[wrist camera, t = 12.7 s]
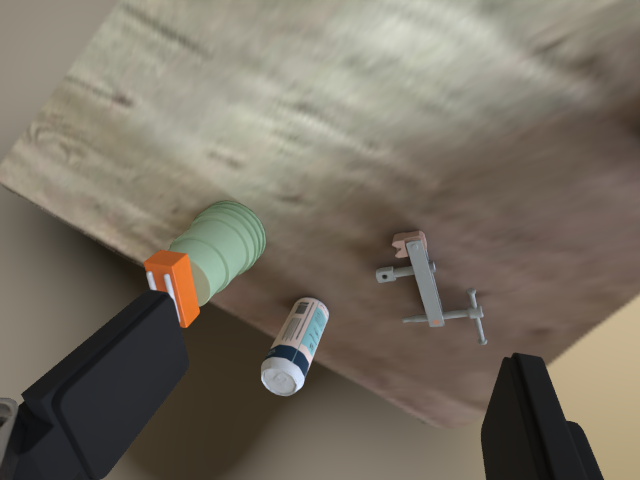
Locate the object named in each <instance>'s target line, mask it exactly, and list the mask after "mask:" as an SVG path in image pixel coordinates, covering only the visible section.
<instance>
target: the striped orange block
mask: <svg viewBox="0 0 640 480" xmlns="http://www.w3.org/2000/svg"><path fill="white" fill-rule="evenodd" d="M144 266H145V269H146V275H147V278H148V282H149V286H150V289H152V290H158V291H164V292H168V293H169V294H170V296H171V298H173V299H174V302H175V306H176V310H177V314H178V318H179V322H180V327H184V328H187V327H188V326H189V325H190V323H191V322H192V321H193V320H194V319H195V318H196V317H197V316H198V314H199V313H200V311H199V306H198V301H197V296H196V291H195V287H194V282H193V277H192V272H191V267H190V262H189V257H188V254H187V253H180V252H172V251H165V250H160V251H158V252H157V253H155V254H154V255H153V256H151V257H150V258H149V259H147V260H146V261H144Z"/></svg>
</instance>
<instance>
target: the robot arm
mask: <svg viewBox="0 0 640 480" xmlns="http://www.w3.org/2000/svg"><path fill="white" fill-rule="evenodd" d="M188 366H189V360H188V355H187V351H186V347H185V343H184V339H183V335H182V331H181V327H180V322H179V318H178V314H177V310H176V306H175V302H174V299H173V298H171V296H170V294H169V293H168V292H164V291H158V290H152V289H150V290H147V291H145V292H144V293H142V294H141V295H140V296H139V297H138V298H136V299H135V300H134V301H133V302H131V303H130V304H129V305H128V306H127V307H125V308H124V309H123V310H122V311H121V312H119V313H118V314H117V315H116V316H115V317H113V318H112V319H111V320H110V321H109V322H108V323H106V324H105V325H104V326H103V327H102V328H100V329H99V330H98V331H97V332H96V333H94V334H93V335H92V336H91V337H89V338H88V339H87V340H86V341H85V342H83V343H82V344H81V345H80V346H78V347H77V348H76V349H75V350H74V351H72V352H71V353H70V354H69V355H68V356H66V357H65V358H64V359H63V360H62V361H60V362H59V363H58V364H57V365H56V366H54V367H53V368H52V369H51V370H50V371H48V372H47V373H46V374H45V375H44V376H42V377H41V378H40V379H39V380H38V381H36V382H35V383H34V384H33V385H31V386H30V387H29V388H28V389H27V390H25V391H24V392H23V393H22V394H21V395H22V397H23V399H24V400H25V401H24V402H23V403H22V404H20V405H19V406H18V404H17V403H16V401H15V400H13V399H10V398H0V480H100V479H103V478H104V477H105V476H107V474H108V473H109V472H110V471H111V469H112V468H113V467H114V466H115V464H116V463H117V462H118V460H119V459H120V458H121V456H122V455H123V454H124V452H125V451H126V450H127V449H128V447H129V446H130V445H131V443H132V442H133V441H134V440H135V438H136V437H137V436H138V434H139V433H140V432H141V430H142V429H143V428H144V426H145V425H146V424H147V423H148V421H149V420H150V419H151V417H152V416H153V415H154V413H155V412H156V411H157V410H158V408H159V407H160V406H161V404H162V403H163V402H164V400H165V399H166V398H167V396H168V395H169V394H170V392H171V391H172V390H173V389H174V387H175V386H176V385H177V383H178V382H179V381H180V379H181V378H182V377H183V376H184V374H185V373H186V371H187V369H188ZM481 444H482V451H483V459H484V467H485V474H486V480H604V479H603V476H602V474H601V471H600V469H599V466H598V464H597V462H596V459H595V457H594V455H593V452H592V449H591V447H590V445H589V442H588V440H587V437H586V435H585V433H584V431H583V429H582V428H581V427H580V426H579V425H578V423H575V422H571V421H566V419H565V417H564V414H563V411H562V409H561V406H560V403H559V401H558V398H557V395H556V393H555V390H554V387H553V385H552V382H551V379H550V377H549V374H548V371H547V369H546V366H545V363H544V361H543V359H542V358H541V357H538V356H532V355H526V354H520V353H513V355H512V357H511V358H508V357H504V359H503V361H502V364H501V367H500V370H499V374H498V377H497V380H496V383H495V386H494V390H493V393H492V396H491V399H490V402H489V405H488V409H487V412H486V415H485V418H484V421H483V424H482V428H481Z"/></svg>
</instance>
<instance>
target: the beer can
mask: <svg viewBox="0 0 640 480" xmlns="http://www.w3.org/2000/svg"><path fill="white" fill-rule="evenodd" d="M328 318H329V313H328V310H327V308H326V307H325V305H324V304H323V303H322V302H320V301H319V300H317V299H314V298H308V297H306V298H301V299H299V300H298V301H297V302H296V303H295V304H294V306H293V308H292V310H291V312H290V314H289V316H288V317H287V319H286V321H285V323H284V325H283V327H282V328H281V330H280V332H279V334H278V336H277V338H276V340H275V341H274V343H273V345H272V347H271V349H270V351H269V353H268V354H267V356H266V358H265V360H264V362H263V364H262V367H261V376H262V378H261V380H262V382H263V383H264V385H265V387H266V388H267V389H269V390H270V391H272V392H273V393H275V394H277V395H283V396H289V395H291V394H293V393H295V392H296V391H297V390H298V389H300V388H301V387H302V386H303V384H304V379H305V377H306V374H307V372H308V369H309V366H310V364H311V361H312V359H313V356H314V353H315V351H316V348H317V346H318V343H319V340H320V338H321V335H322V333H323V330H324V328H325V325H326V323H327V321H328Z"/></svg>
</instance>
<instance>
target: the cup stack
mask: <svg viewBox="0 0 640 480" xmlns="http://www.w3.org/2000/svg"><path fill="white" fill-rule="evenodd" d="M265 244H266V236H265V231H264V228H263V226H262V224H261V222H260V220H259V219H258V218H257V216H256V215H255V214H254V213H253V212H252V211H251V210H249V209H248V208H247V207H245V206H243V205H241V204H239V203H236V202H231V201H222V202H218V203H216V204H214V205H212V206H211V207H209V208H208V209H206V210H205V211H204V212H202V213H200V214H199V215H198V216H197V217H196V218H195V219H194V221H193V223H192V224H191V225H190V227H189V229H188V230H187V231H186V232H185V233H183V234H182V235H181V236H179V237H178V238H176V239H175V240H174V241H173V242H172V244H171V245H170V248H169V249H168V250H167V251H172V252H180V253H187V254H188V257H189V262H190V267H191V272H192V277H193V282H194V287H195V291H196V296H197V301H198V306H199V307H200V306H202V305H204V304H205V303H206V302H207V301H208V300H209V299H210V298H211V297H212V296H213V295H214V293H218V292H220V291H222V290H223V289H224V288H225V287H226V286H227V285H228V284H229V282H230V281H231V280H232V279H233V278H234V277H235V276H237V275H239V274H241V273H243V272H245V271H247V270H248V269H249V268H250V267H251V266H252V265H253V264H254V263H255V261H256V260H257V259H258V258H259V257H260V256H261V254H262V253H263V251H264V248H265Z"/></svg>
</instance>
